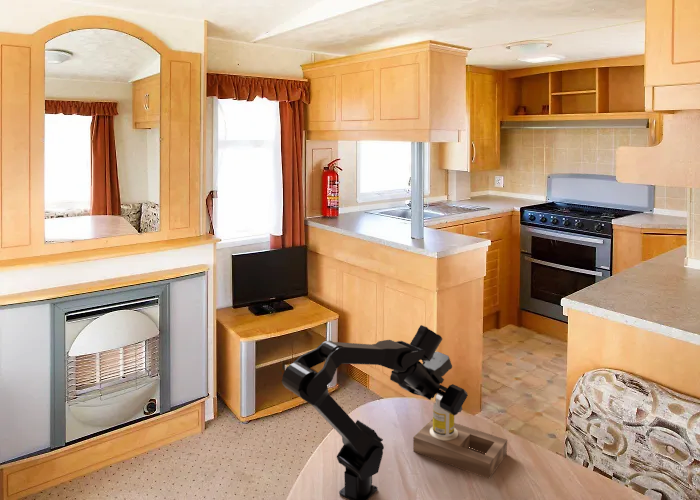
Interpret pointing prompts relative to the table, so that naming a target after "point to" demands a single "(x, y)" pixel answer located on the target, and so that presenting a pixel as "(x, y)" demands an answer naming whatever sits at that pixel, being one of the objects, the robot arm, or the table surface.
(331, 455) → the table surface
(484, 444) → the pocket block
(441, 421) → the supplement bottle
